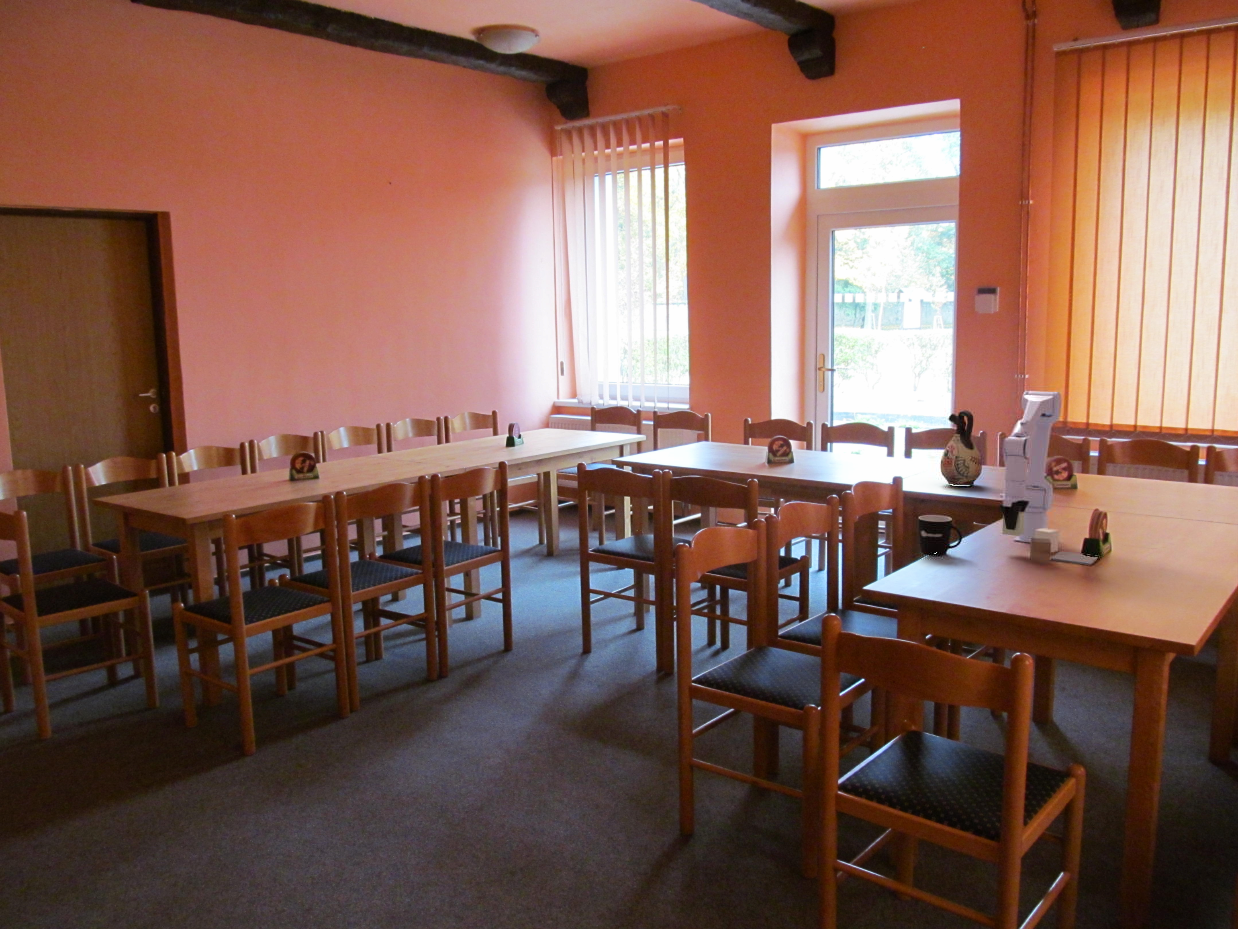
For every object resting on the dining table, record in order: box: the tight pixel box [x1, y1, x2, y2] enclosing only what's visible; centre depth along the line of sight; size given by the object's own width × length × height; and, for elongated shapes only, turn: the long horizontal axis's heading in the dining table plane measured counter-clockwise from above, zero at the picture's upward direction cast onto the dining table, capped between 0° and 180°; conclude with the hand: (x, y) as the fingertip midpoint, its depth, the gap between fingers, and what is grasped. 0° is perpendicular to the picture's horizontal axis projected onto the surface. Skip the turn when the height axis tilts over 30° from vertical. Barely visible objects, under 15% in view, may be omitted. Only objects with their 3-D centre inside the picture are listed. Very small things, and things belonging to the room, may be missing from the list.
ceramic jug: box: [939, 409, 983, 486], centre depth 382 cm, size 17×15×30 cm
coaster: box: [1050, 550, 1098, 566], centre depth 268 cm, size 10×10×1 cm
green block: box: [1001, 512, 1025, 537], centre depth 275 cm, size 4×4×6 cm
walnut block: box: [1029, 538, 1052, 565], centre depth 265 cm, size 4×4×6 cm
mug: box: [917, 514, 963, 557], centre depth 275 cm, size 12×9×10 cm
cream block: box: [1035, 527, 1060, 553], centre depth 278 cm, size 4×4×6 cm
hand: (1013, 527), depth 275 cm, fingers closed on green block, 4 cm apart
